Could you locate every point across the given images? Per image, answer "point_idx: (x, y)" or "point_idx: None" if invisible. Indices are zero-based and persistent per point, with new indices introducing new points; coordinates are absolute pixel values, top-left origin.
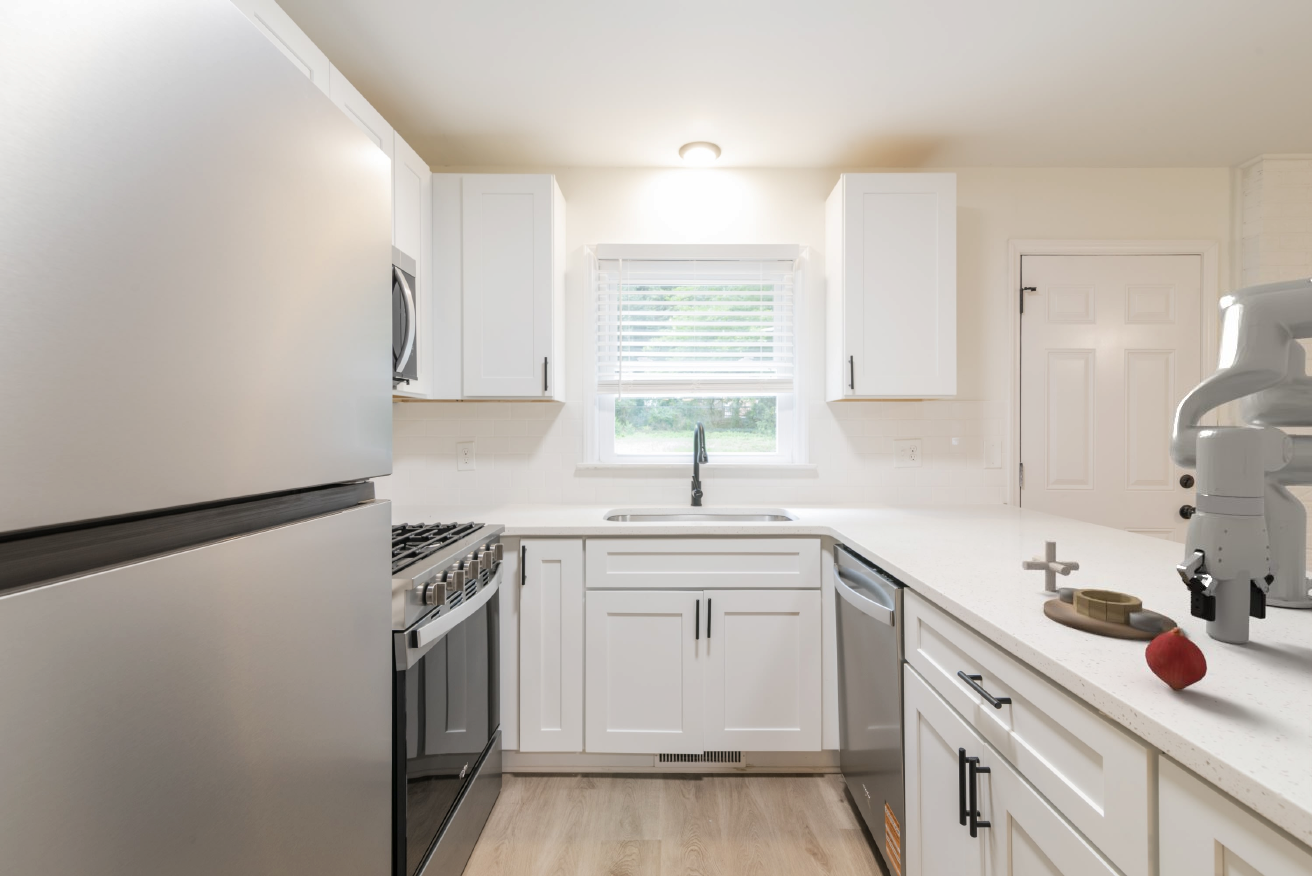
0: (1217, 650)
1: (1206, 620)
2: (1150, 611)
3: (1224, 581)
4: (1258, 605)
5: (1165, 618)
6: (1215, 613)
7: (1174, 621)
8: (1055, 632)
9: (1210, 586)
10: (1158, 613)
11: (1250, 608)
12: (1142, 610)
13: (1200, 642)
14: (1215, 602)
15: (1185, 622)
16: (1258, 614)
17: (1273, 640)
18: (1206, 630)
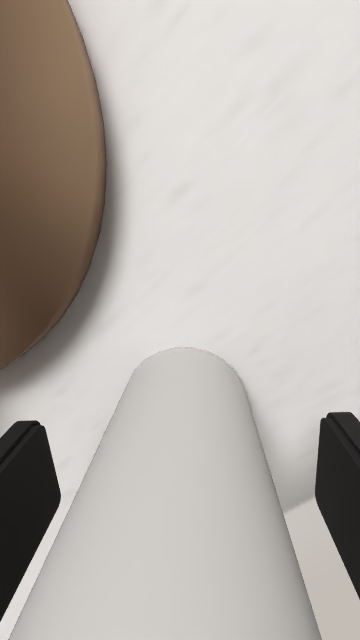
0: (58, 468)
1: (124, 394)
2: (69, 108)
3: None
4: (350, 560)
5: (59, 239)
6: (41, 537)
7: (69, 283)
8: None
9: None
10: (89, 149)
11: (334, 497)
12: (37, 82)
13: (62, 411)
14: (3, 611)
15: (212, 195)
16: (324, 506)
17: None
18: (132, 374)
